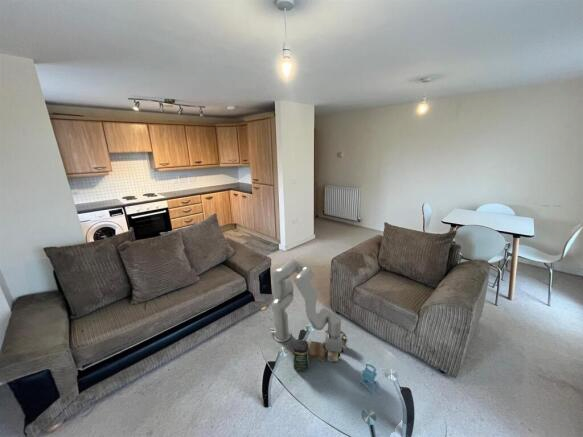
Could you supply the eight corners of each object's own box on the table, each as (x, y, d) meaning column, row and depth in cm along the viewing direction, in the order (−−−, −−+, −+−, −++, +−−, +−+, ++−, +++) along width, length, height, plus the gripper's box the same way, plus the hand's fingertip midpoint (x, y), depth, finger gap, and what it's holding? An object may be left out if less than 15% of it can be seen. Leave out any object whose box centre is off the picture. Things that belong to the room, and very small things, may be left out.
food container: (349, 345, 161) (350, 333, 158) (346, 352, 156) (347, 340, 153) (332, 338, 167) (332, 326, 164) (329, 344, 163) (329, 333, 159)
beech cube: (327, 359, 149) (327, 352, 147) (328, 351, 155) (329, 344, 153) (337, 361, 148) (337, 354, 146) (338, 353, 153) (338, 346, 151)
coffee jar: (292, 371, 146) (291, 347, 140) (294, 359, 153) (293, 336, 147) (308, 372, 144) (307, 349, 138) (309, 361, 152) (308, 338, 146)
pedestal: (308, 358, 154) (308, 353, 153) (311, 345, 163) (311, 340, 162) (324, 361, 151) (324, 356, 150) (326, 348, 160) (326, 343, 159)
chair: (364, 374, 141) (364, 359, 137) (378, 382, 136) (379, 366, 132) (358, 384, 136) (359, 369, 132) (373, 393, 131) (373, 377, 127)
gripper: (318, 335, 144) (318, 358, 150) (348, 341, 139) (346, 364, 145) (320, 326, 150) (320, 348, 157) (348, 331, 146) (347, 353, 152)
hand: (333, 355), depth 151 cm, fingers closed on beech cube, 6 cm apart
